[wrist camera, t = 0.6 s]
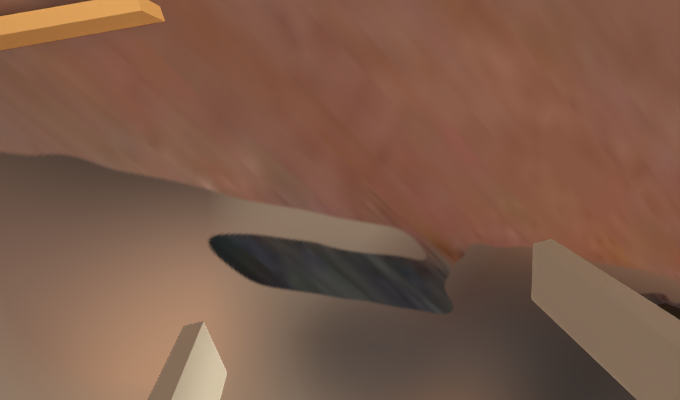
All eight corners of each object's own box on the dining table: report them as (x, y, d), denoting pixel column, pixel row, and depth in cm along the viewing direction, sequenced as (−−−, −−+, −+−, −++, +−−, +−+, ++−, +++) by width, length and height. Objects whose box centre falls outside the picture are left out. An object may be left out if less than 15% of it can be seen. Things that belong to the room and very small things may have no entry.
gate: (157, -1, 29) (125, -20, 23) (167, 28, 29) (138, 16, 24) (-66, 37, 28) (-150, 27, 23) (-50, 67, 29) (-127, 62, 23)
